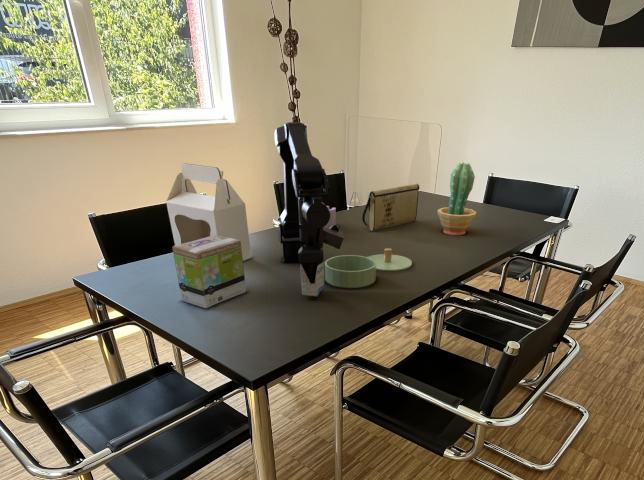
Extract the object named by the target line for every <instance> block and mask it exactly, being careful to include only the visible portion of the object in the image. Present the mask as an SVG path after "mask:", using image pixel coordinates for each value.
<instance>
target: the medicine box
mask: <svg viewBox="0 0 644 480" xmlns="http://www.w3.org/2000/svg"><path fill="white" fill-rule="evenodd" d="M299 271H300V285H301V295H302V296H306V297H307V296H308V297H318V296H319V295H320V293H321V292H322V291H323V289H324V287H325V261H324V257H323V262H322V263H321V264H319V265H318V267H317V272H316V278H315V283H314V284H311V283H310V282H309V279H308V277H307V275H306V273H305V271H304V269H303V267H302V265H301V264H300V265H299Z"/></svg>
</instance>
